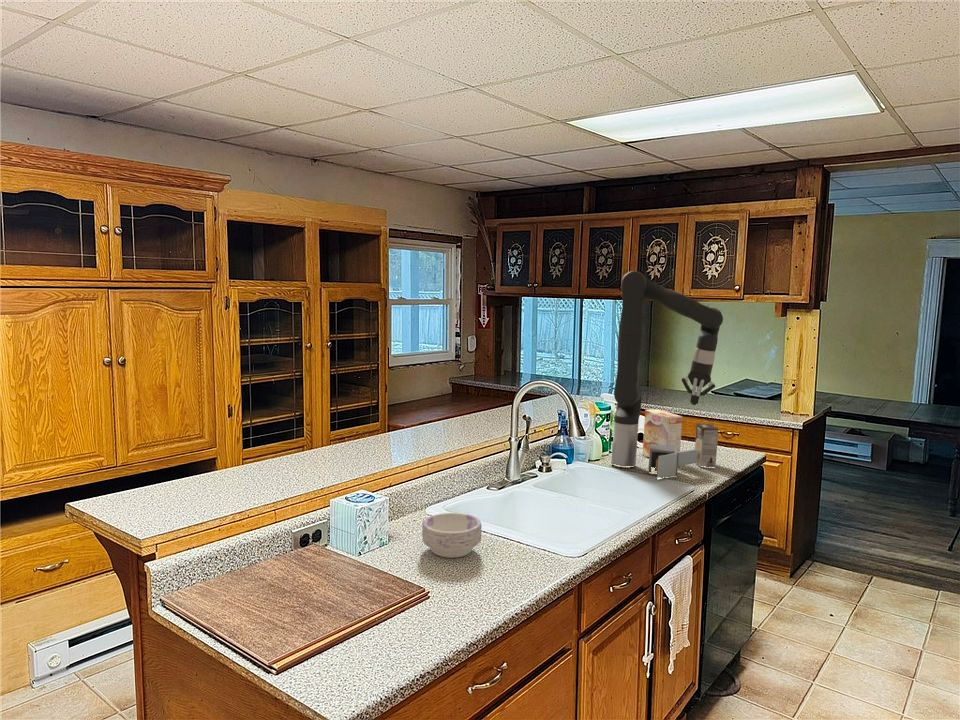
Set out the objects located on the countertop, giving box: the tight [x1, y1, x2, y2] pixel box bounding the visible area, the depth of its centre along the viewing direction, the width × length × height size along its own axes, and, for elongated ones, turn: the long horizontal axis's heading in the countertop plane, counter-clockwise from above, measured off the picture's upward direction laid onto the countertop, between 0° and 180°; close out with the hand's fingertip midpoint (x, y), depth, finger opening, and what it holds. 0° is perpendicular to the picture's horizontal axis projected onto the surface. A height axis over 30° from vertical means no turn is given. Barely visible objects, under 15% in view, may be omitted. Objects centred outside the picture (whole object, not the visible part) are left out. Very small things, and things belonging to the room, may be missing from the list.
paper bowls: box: [421, 512, 483, 559], centre depth 172 cm, size 15×15×8 cm
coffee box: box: [694, 423, 719, 468], centre depth 265 cm, size 9×6×16 cm
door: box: [656, 448, 698, 478], centre depth 247 cm, size 21×1×9 cm, turn 123°
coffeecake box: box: [642, 408, 683, 457], centre depth 271 cm, size 15×7×20 cm, turn 25°
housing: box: [648, 444, 675, 472], centre depth 253 cm, size 9×9×10 cm
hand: (693, 404), depth 255 cm, fingers closed
